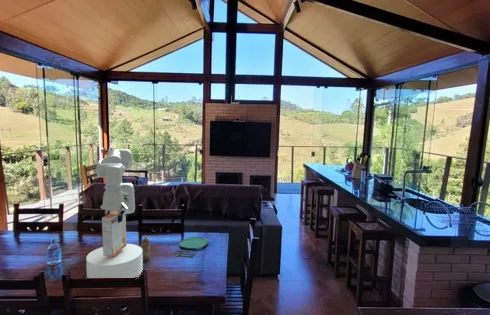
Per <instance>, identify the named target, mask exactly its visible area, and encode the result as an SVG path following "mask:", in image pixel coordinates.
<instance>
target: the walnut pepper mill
mask: <svg viewBox="0 0 490 315" xmlns="http://www.w3.org/2000/svg"><path fill="white" fill-rule="evenodd" d="M143 238H144V239H142V240H141V245H140V247H141V248H142V255H143V258H142V259H143V263H144V262H149V261H150V260H151V242H150V240H149V238H148V236H144V237H143Z"/></svg>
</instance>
